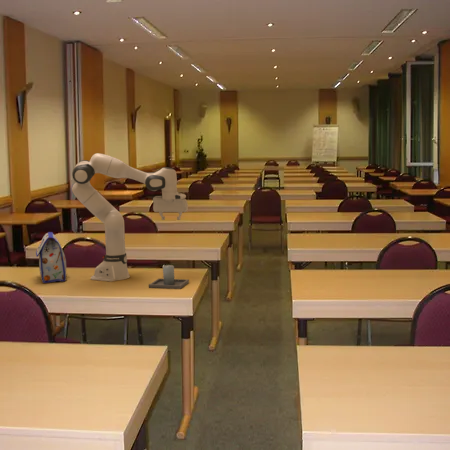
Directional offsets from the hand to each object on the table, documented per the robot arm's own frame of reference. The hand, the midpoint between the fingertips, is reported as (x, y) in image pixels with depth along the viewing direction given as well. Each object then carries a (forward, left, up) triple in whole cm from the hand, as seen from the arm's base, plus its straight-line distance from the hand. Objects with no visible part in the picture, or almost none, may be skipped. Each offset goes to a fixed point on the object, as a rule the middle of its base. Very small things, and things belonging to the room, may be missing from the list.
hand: (171, 219), depth 368 cm
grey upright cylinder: (+5, -21, -32) cm, 39 cm away
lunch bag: (-70, -15, -33) cm, 79 cm away
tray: (+5, -21, -33) cm, 39 cm away
